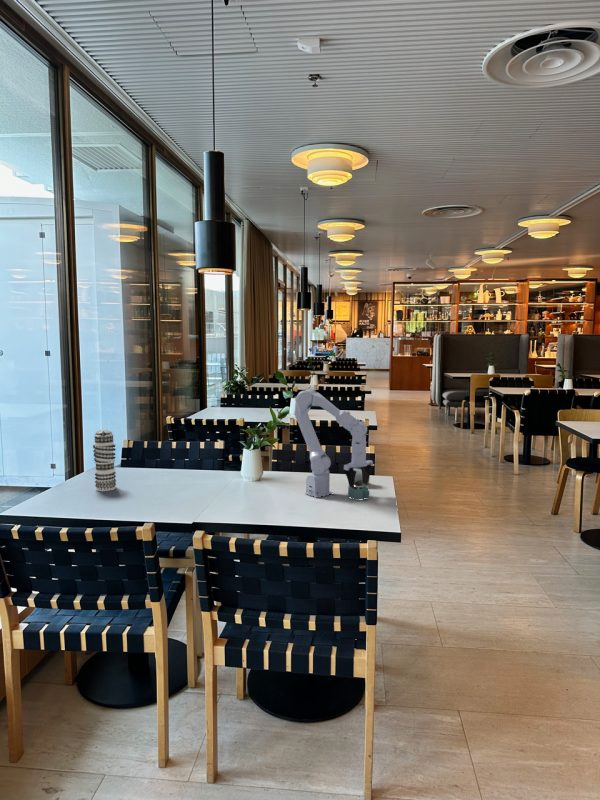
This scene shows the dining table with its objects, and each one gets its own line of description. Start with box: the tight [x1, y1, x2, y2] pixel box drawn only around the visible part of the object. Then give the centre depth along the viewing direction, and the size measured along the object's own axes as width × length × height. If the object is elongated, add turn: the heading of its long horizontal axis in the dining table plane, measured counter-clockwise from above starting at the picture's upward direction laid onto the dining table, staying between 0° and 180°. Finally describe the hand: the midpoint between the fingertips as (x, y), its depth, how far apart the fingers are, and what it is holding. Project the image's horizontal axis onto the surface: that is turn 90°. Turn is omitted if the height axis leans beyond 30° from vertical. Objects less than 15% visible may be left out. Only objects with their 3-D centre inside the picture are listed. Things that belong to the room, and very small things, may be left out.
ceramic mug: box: [353, 468, 371, 486], centre depth 246 cm, size 11×8×8 cm
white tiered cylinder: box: [92, 429, 117, 492], centre depth 238 cm, size 9×9×25 cm
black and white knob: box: [354, 479, 364, 489], centre depth 227 cm, size 6×6×6 cm
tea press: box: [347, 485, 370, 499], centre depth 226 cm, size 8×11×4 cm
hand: (358, 485), depth 226 cm, fingers open, 7 cm apart
